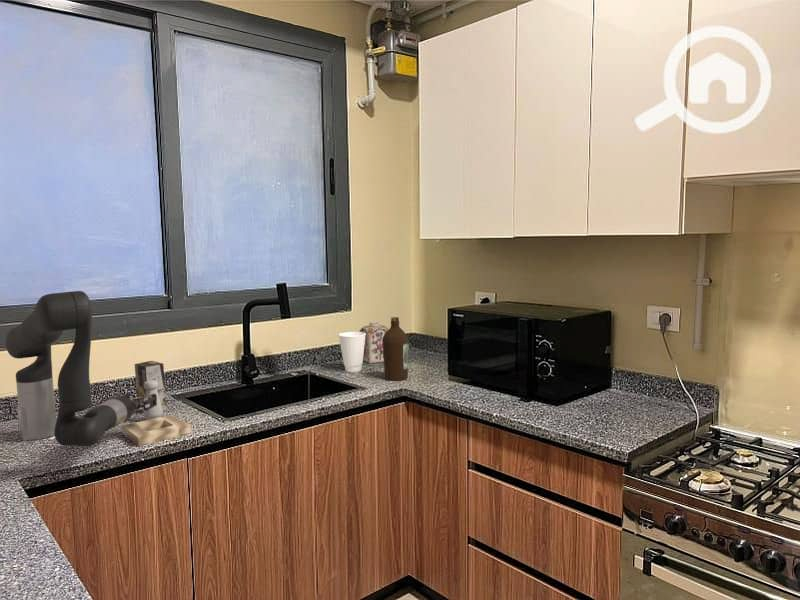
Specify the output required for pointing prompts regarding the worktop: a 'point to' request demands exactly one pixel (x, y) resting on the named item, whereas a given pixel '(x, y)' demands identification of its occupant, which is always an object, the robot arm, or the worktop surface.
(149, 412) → the salt shaker
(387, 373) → the olive oil
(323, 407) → the worktop surface
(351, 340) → the cup
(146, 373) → the coffee box
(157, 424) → the bore housing
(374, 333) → the decorative jar
